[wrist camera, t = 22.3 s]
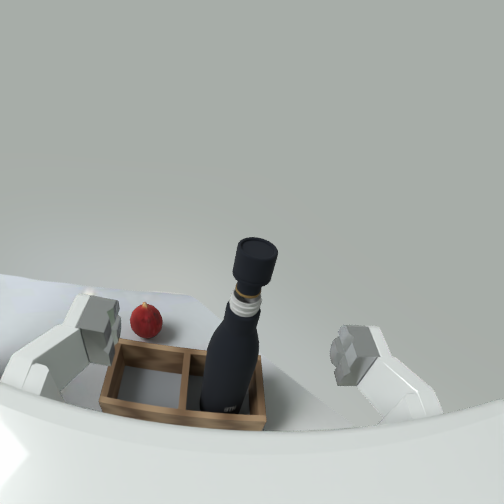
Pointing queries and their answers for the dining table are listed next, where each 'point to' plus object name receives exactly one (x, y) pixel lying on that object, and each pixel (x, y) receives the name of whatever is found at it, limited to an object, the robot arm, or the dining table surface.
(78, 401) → the dining table surface
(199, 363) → the wooden divided box
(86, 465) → the robot arm
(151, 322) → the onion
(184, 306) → the dining table surface
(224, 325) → the black water bottle
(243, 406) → the mat
